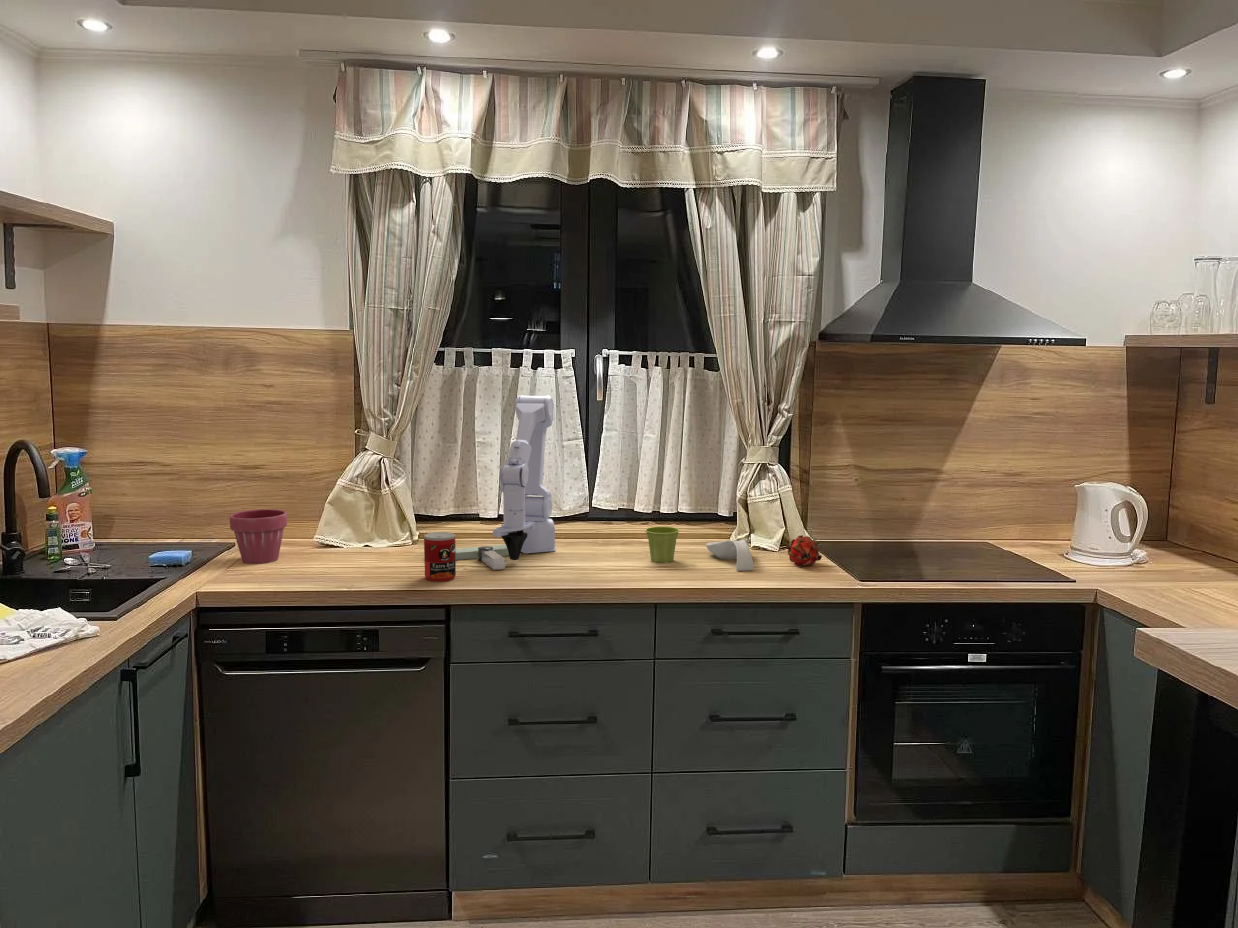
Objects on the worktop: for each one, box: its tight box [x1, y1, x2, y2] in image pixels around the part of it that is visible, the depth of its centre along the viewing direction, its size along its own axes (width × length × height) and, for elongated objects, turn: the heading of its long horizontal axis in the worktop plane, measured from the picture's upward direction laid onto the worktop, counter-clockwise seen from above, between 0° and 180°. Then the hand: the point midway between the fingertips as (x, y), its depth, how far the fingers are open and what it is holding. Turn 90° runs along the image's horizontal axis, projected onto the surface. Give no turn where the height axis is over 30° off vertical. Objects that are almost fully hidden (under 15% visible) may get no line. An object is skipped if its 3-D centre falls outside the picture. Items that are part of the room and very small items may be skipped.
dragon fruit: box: [787, 534, 823, 568], centre depth 249 cm, size 8×8×12 cm
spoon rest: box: [705, 539, 755, 572], centre depth 253 cm, size 24×12×7 cm, turn 10°
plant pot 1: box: [229, 508, 288, 565], centre depth 250 cm, size 14×14×13 cm
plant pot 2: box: [644, 526, 681, 564], centre depth 253 cm, size 9×9×9 cm
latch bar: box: [477, 545, 506, 571], centre depth 247 cm, size 14×4×3 cm, turn 24°
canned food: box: [423, 531, 457, 583], centre depth 232 cm, size 8×8×11 cm
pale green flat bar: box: [455, 544, 510, 561], centre depth 257 cm, size 24×5×2 cm, turn 114°
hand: (514, 559), depth 249 cm, fingers closed
